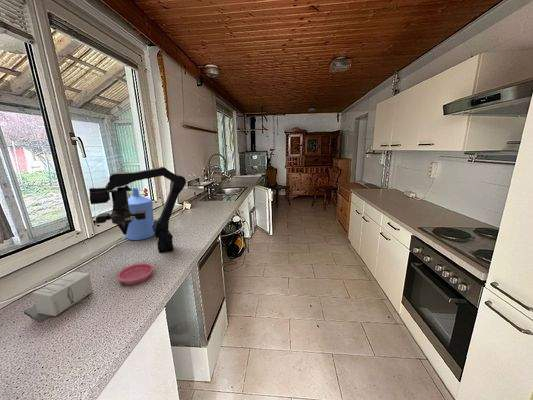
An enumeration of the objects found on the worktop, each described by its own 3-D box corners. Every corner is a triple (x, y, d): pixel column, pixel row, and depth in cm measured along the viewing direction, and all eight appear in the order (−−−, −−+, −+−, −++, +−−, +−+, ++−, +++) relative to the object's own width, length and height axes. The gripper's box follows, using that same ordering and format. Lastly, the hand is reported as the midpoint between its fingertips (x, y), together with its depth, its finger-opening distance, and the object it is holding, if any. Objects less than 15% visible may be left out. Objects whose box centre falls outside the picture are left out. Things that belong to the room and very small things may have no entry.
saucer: (160, 275, 91) (159, 268, 91) (129, 291, 81) (128, 284, 80) (142, 266, 97) (141, 260, 97) (111, 281, 87) (110, 273, 86)
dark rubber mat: (69, 290, 81) (69, 289, 81) (85, 298, 77) (85, 297, 77) (24, 311, 70) (23, 310, 70) (40, 322, 66) (39, 321, 66)
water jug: (147, 241, 123) (141, 191, 117) (119, 240, 124) (111, 191, 117) (160, 230, 138) (156, 186, 132) (136, 230, 139) (129, 186, 132)
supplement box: (94, 291, 80) (55, 317, 68) (77, 288, 81) (36, 313, 69) (90, 273, 78) (49, 296, 66) (73, 270, 79) (30, 293, 67)
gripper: (87, 207, 87) (94, 244, 91) (141, 204, 94) (145, 238, 97) (97, 201, 97) (103, 234, 101) (145, 198, 104) (149, 229, 107)
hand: (125, 234), depth 101 cm, fingers closed
